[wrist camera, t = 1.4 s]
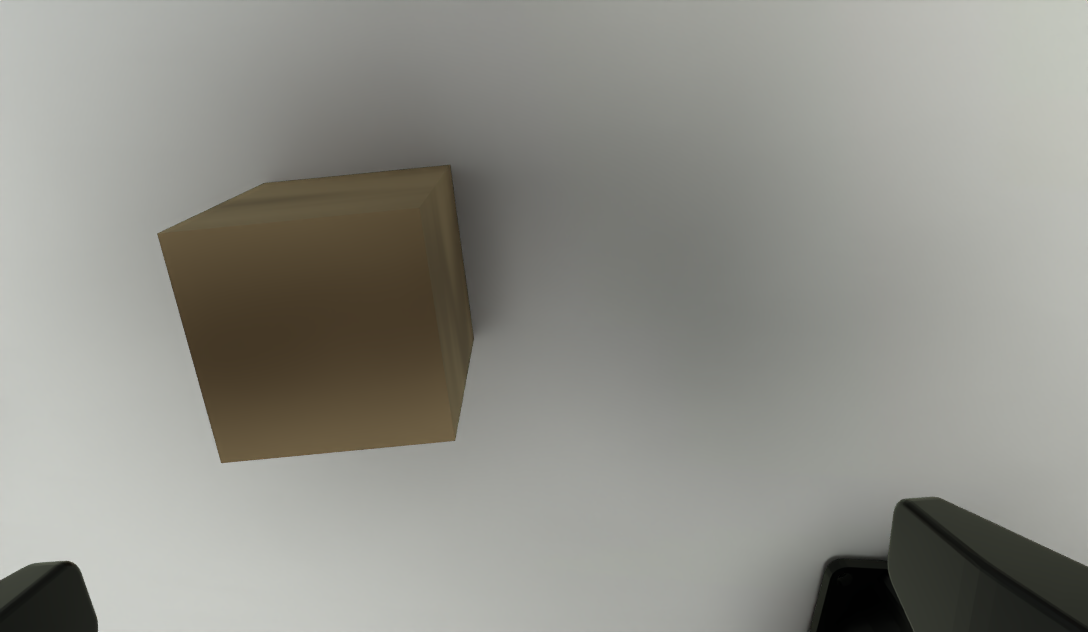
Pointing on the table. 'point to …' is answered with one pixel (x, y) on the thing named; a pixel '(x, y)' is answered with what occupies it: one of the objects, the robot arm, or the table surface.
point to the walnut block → (326, 313)
